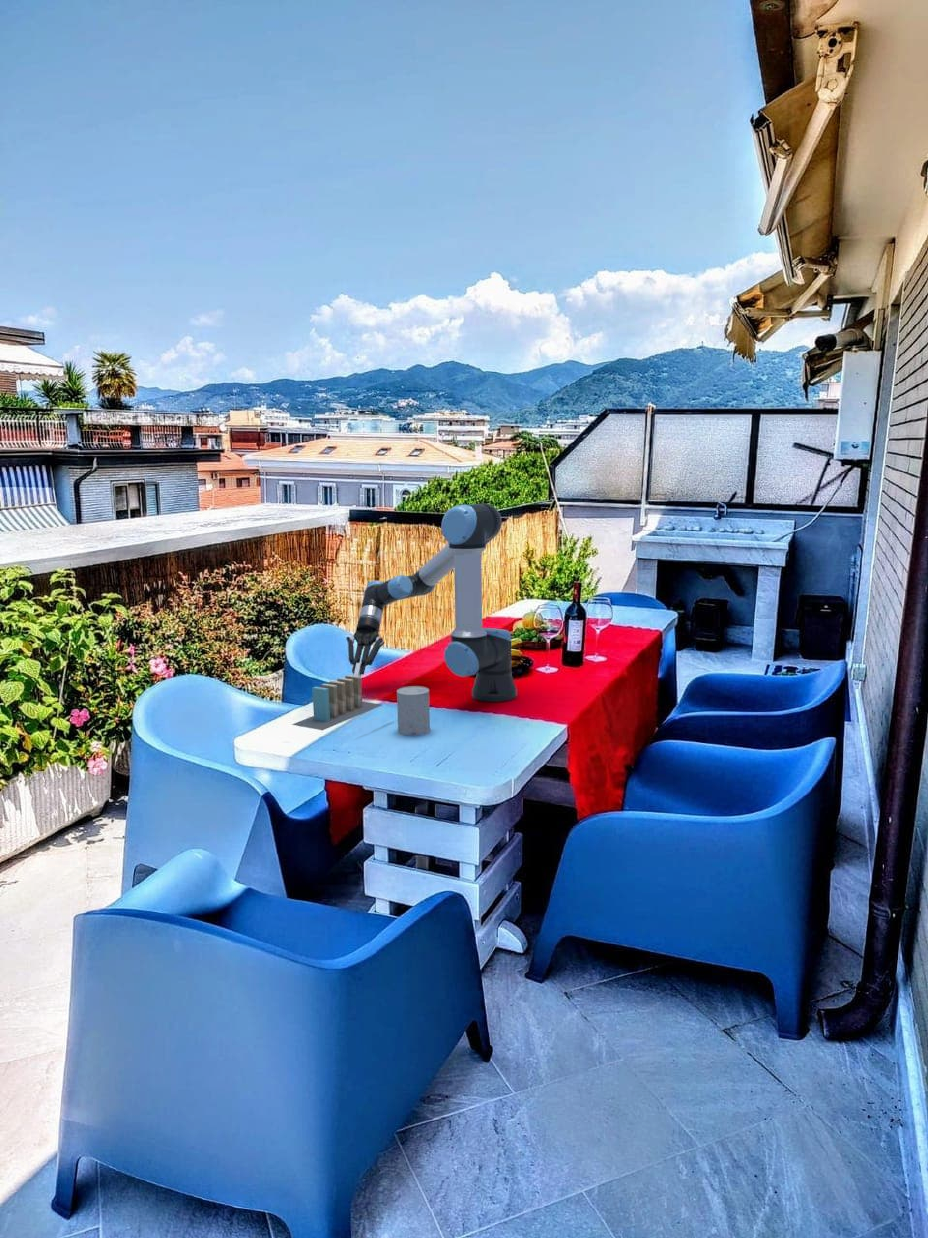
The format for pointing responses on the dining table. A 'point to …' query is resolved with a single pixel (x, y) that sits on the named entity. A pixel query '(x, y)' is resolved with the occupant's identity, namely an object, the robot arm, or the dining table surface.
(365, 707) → the mat
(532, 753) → the dining table surface
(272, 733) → the dining table surface
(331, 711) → the domino
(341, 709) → the domino
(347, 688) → the domino
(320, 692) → the domino
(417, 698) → the grey flat-topped cylinder
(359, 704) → the domino
